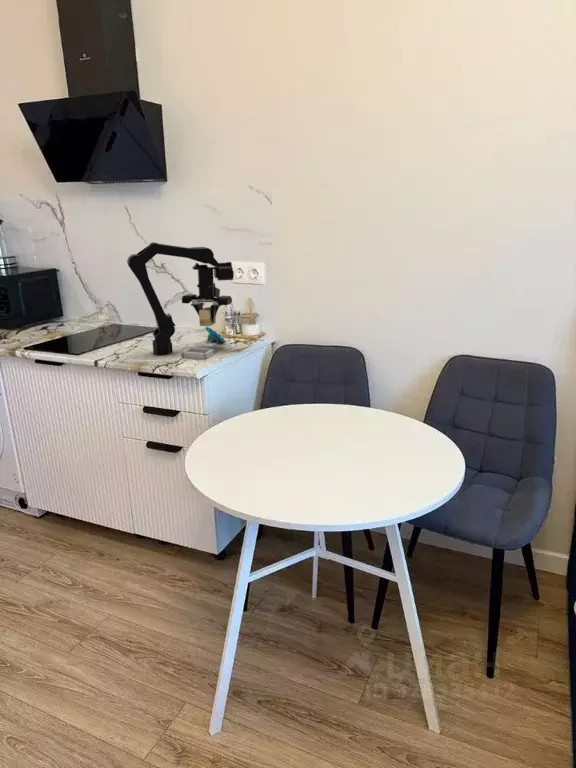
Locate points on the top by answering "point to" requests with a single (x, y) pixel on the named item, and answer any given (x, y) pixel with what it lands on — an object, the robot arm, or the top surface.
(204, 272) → the robot arm
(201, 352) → the gray plate
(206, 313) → the cardboard box
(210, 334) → the gear
